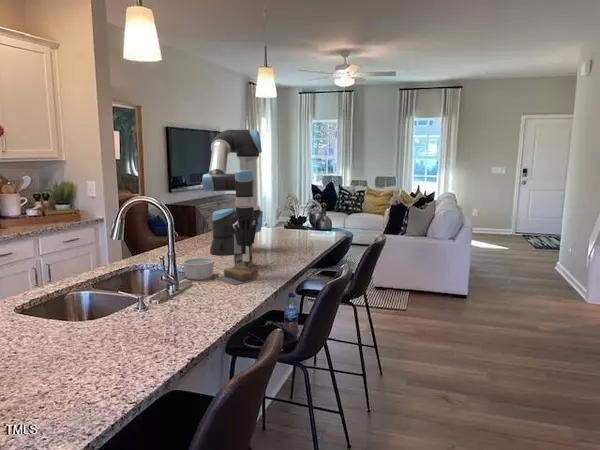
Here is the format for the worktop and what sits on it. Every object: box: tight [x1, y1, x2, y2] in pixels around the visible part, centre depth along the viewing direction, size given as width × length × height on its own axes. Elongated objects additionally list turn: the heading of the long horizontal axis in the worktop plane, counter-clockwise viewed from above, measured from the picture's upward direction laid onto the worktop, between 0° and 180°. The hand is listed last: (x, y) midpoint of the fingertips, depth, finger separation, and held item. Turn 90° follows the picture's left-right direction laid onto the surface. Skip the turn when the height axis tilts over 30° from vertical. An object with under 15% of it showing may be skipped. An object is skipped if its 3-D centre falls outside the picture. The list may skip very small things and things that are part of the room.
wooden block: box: [223, 266, 259, 282], centre depth 192 cm, size 3×12×9 cm
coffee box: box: [233, 234, 254, 268], centre depth 210 cm, size 9×6×16 cm
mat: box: [214, 275, 259, 286], centre depth 190 cm, size 12×14×1 cm
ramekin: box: [182, 257, 215, 281], centre depth 194 cm, size 13×13×7 cm
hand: (246, 260), depth 193 cm, fingers closed
